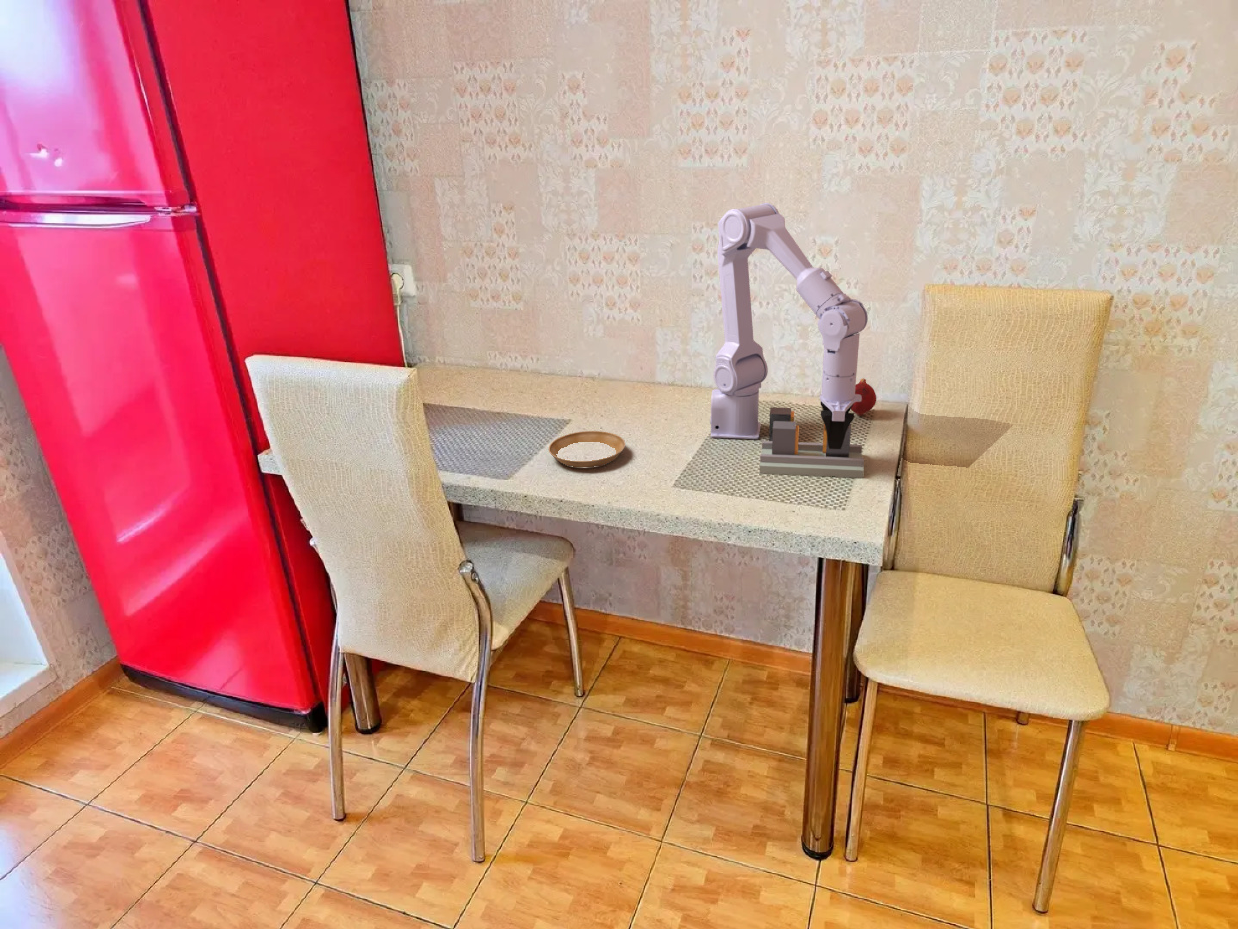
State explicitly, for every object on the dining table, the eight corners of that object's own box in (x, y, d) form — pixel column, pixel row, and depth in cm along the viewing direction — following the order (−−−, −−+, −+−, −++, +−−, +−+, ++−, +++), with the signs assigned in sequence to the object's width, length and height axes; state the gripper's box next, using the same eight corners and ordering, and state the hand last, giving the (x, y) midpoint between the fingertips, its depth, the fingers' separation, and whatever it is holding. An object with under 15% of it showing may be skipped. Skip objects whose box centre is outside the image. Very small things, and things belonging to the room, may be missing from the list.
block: (768, 442, 161) (769, 413, 158) (769, 435, 164) (770, 407, 161) (792, 443, 160) (794, 414, 157) (793, 436, 163) (794, 407, 160)
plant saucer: (533, 461, 158) (532, 449, 157) (585, 436, 168) (585, 424, 167) (589, 481, 149) (588, 468, 148) (641, 453, 159) (640, 441, 158)
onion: (875, 421, 168) (879, 384, 164) (846, 420, 169) (849, 383, 166) (873, 410, 173) (876, 374, 170) (845, 410, 174) (847, 374, 171)
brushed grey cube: (822, 458, 148) (824, 427, 146) (822, 450, 151) (824, 420, 149) (848, 459, 147) (851, 428, 145) (847, 451, 150) (850, 421, 148)
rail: (759, 473, 148) (760, 434, 145) (762, 450, 157) (763, 414, 154) (863, 478, 145) (866, 438, 142) (860, 454, 154) (863, 417, 150)
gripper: (865, 386, 135) (859, 461, 141) (861, 359, 148) (855, 429, 154) (821, 385, 137) (817, 459, 143) (820, 358, 150) (816, 427, 155)
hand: (834, 443), depth 148 cm, fingers closed on brushed grey cube, 3 cm apart
